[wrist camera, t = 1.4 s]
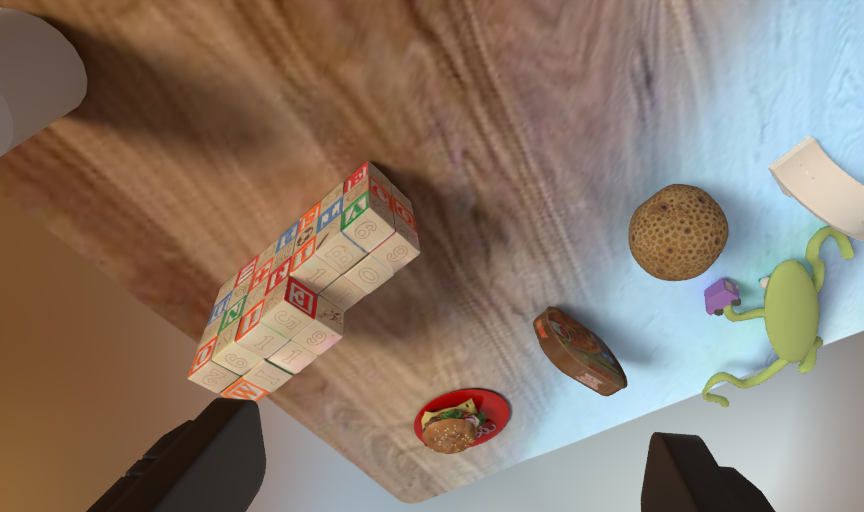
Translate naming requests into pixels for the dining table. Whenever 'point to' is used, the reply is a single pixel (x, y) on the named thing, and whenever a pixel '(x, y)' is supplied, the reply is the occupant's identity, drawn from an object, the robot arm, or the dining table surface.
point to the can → (35, 77)
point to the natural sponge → (678, 233)
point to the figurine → (780, 312)
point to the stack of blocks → (305, 287)
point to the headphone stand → (821, 187)
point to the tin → (579, 352)
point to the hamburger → (461, 420)
